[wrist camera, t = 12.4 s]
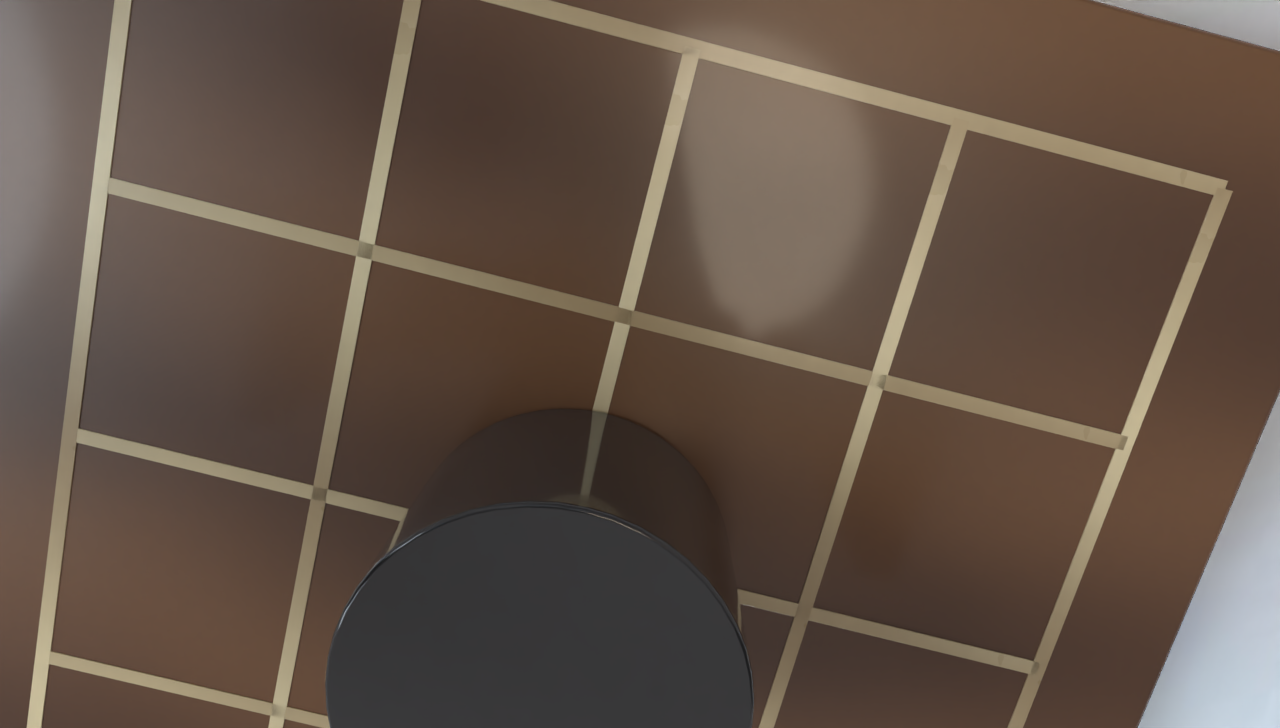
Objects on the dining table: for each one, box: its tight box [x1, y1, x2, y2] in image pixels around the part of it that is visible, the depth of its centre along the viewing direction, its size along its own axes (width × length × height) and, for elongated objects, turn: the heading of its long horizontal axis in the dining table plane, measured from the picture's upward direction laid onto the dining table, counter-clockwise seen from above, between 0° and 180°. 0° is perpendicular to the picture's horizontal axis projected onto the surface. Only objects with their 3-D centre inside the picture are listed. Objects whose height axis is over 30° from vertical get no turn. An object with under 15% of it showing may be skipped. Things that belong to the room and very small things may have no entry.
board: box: [0, 0, 1280, 728], centre depth 16 cm, size 20×20×2 cm
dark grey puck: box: [325, 408, 755, 728], centre depth 13 cm, size 5×5×4 cm
